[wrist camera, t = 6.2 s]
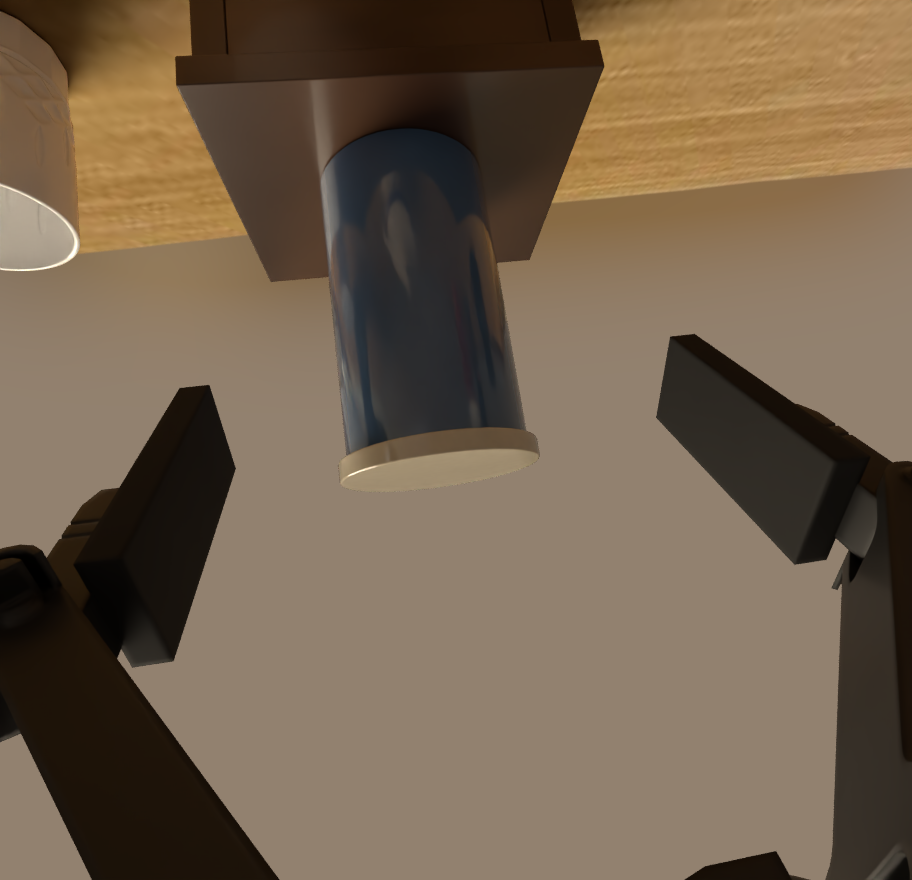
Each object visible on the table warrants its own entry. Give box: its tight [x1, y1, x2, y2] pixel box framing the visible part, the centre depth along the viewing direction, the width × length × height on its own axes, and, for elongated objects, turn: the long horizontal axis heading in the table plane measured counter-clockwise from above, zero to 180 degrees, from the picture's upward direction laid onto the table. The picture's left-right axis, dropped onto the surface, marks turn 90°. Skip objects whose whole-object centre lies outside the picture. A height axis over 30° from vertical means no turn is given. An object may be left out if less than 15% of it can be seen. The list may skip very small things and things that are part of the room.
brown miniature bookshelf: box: [175, 0, 604, 282], centre depth 26 cm, size 15×13×12 cm
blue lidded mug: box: [320, 128, 540, 492], centre depth 25 cm, size 8×11×13 cm
